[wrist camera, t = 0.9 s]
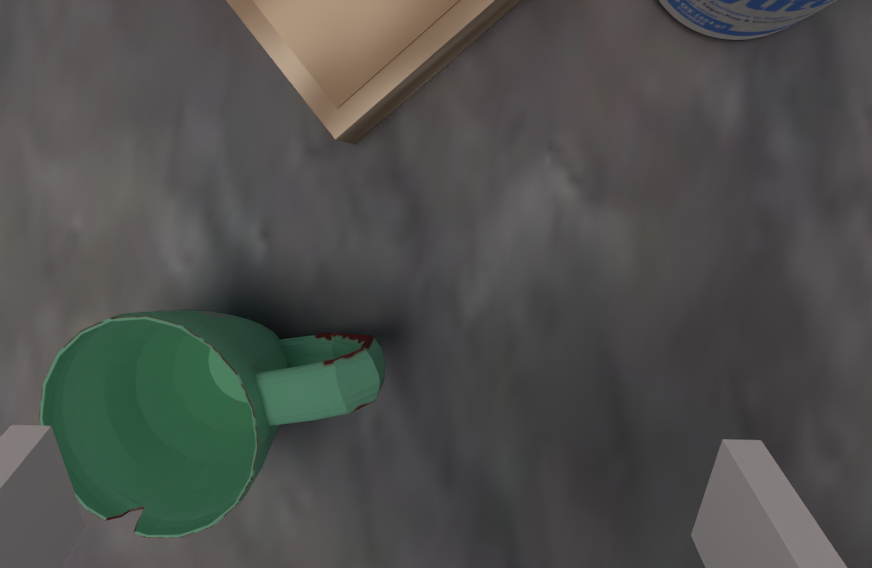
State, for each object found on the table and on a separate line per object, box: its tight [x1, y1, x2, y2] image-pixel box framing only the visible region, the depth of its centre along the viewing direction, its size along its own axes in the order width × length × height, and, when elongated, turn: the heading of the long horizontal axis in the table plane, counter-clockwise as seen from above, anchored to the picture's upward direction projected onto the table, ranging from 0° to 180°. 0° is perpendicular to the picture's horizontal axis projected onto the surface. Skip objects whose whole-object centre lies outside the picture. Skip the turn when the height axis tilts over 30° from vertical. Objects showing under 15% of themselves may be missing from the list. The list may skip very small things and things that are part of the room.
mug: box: [39, 310, 385, 538], centre depth 30 cm, size 15×10×10 cm
